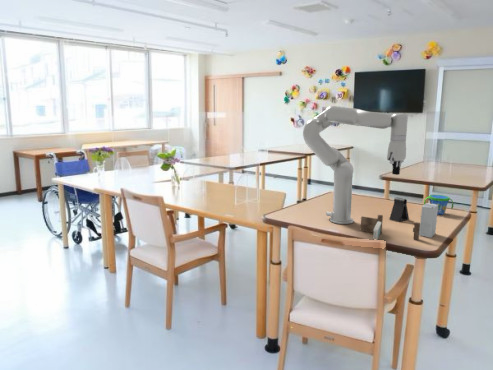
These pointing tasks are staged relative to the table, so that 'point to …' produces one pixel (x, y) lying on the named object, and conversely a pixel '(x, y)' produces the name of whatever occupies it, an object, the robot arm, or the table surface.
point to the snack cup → (439, 202)
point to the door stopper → (399, 210)
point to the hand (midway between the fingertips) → (395, 174)
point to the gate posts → (370, 223)
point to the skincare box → (428, 220)
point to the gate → (377, 230)
